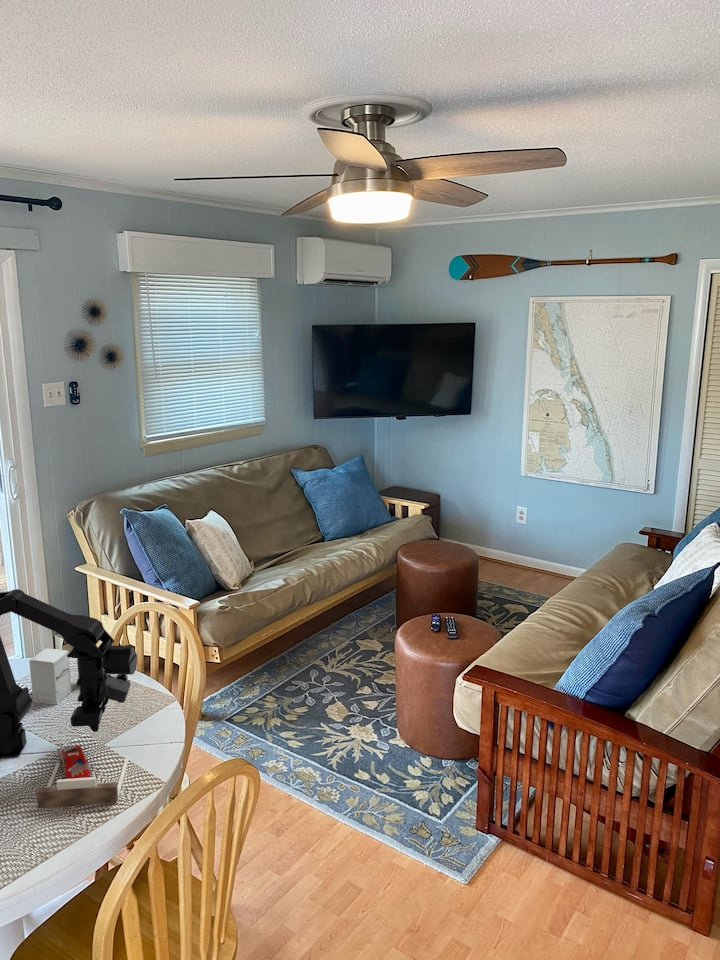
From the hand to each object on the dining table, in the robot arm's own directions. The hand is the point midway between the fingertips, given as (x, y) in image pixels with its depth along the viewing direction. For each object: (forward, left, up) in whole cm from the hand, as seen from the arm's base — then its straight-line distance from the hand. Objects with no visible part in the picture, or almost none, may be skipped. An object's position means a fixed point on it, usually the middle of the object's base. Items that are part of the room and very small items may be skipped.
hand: (95, 731), depth 175 cm
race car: (-4, -7, -6) cm, 10 cm away
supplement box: (-17, +27, -6) cm, 33 cm away
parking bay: (0, -12, -6) cm, 13 cm away
